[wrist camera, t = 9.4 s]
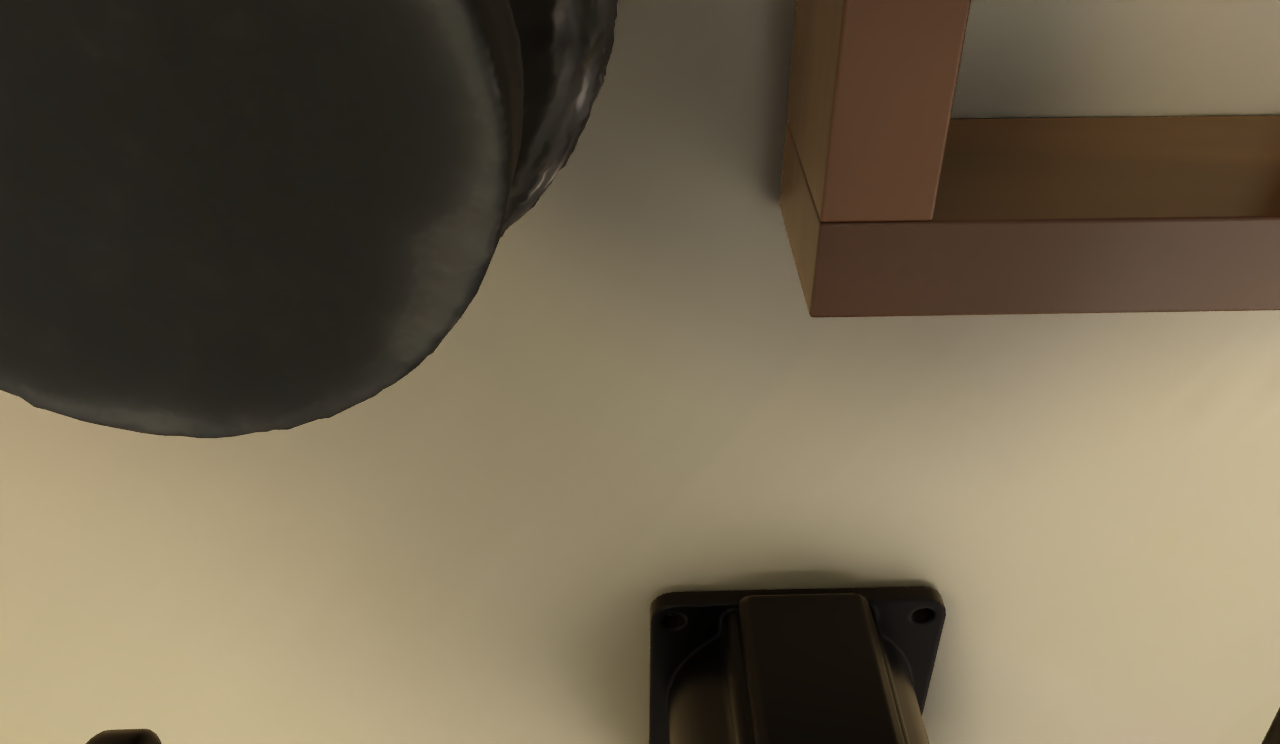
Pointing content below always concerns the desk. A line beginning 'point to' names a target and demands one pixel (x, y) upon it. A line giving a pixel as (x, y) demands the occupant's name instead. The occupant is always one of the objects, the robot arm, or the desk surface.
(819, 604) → the robot arm
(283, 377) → the pill bottle
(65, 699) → the desk surface
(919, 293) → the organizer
